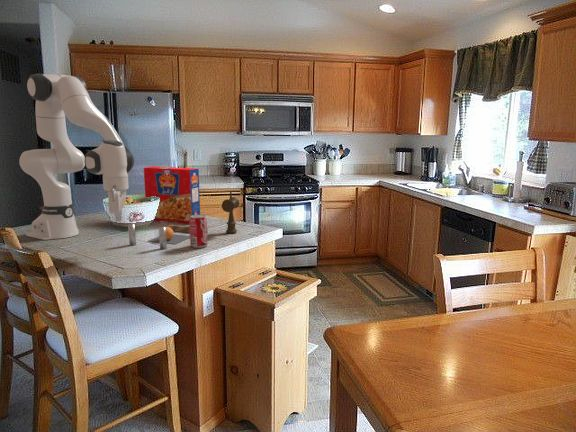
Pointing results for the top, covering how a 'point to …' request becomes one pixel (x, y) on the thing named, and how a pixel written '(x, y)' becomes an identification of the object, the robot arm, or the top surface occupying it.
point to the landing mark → (172, 239)
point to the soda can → (198, 231)
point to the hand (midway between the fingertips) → (118, 220)
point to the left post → (132, 234)
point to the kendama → (230, 212)
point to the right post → (162, 237)
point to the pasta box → (173, 192)
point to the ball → (169, 233)
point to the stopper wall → (180, 228)
